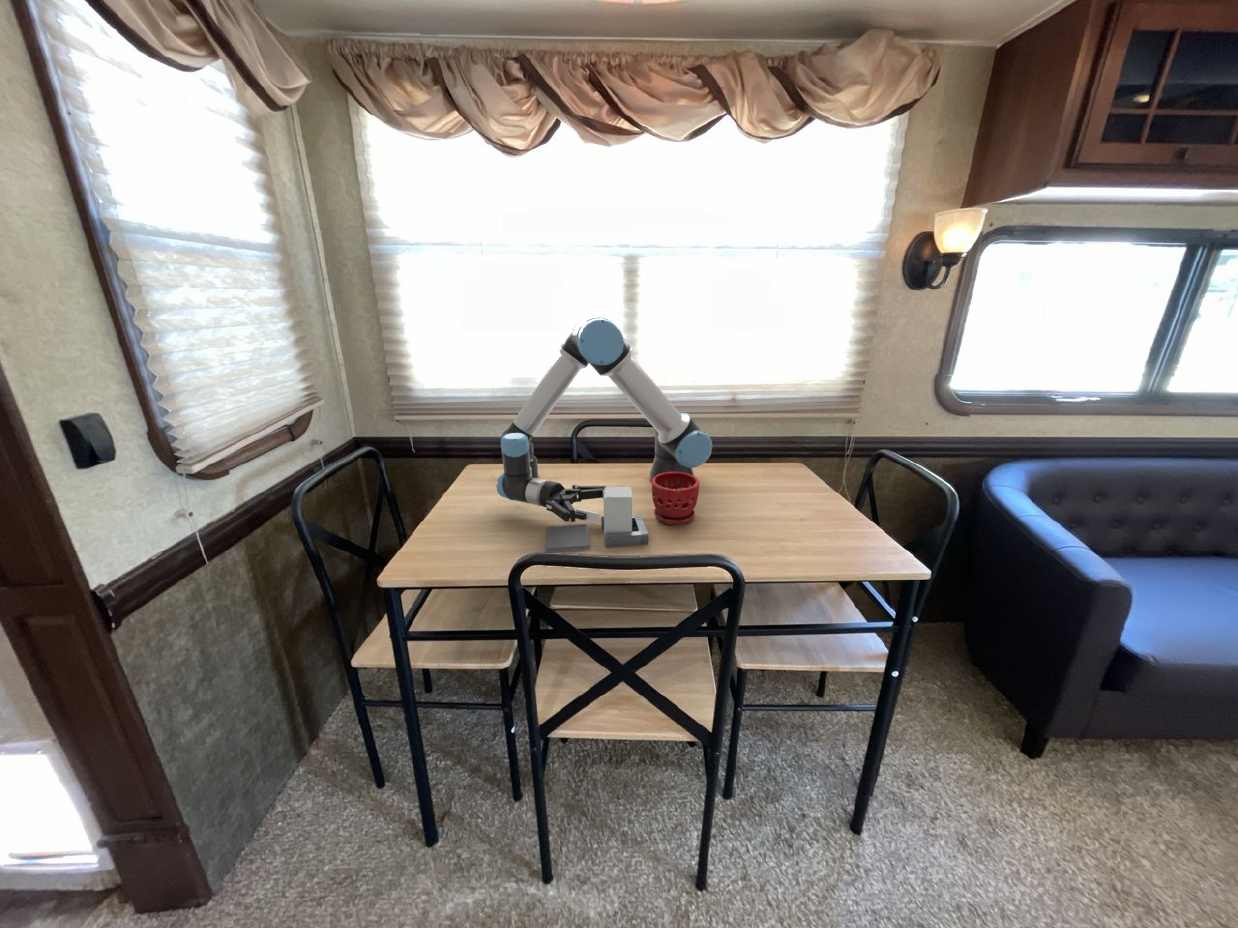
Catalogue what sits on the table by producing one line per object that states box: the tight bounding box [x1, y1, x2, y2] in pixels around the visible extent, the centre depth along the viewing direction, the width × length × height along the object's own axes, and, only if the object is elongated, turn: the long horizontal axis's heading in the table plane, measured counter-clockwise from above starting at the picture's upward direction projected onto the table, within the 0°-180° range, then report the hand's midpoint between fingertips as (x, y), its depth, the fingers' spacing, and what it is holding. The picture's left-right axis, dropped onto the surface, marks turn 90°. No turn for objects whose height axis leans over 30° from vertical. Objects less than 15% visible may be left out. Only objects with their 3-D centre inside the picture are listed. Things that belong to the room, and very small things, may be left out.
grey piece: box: [600, 513, 649, 549], centre depth 130 cm, size 11×12×3 cm
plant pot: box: [651, 472, 700, 526], centre depth 138 cm, size 13×13×12 cm
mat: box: [545, 523, 591, 553], centre depth 129 cm, size 11×12×1 cm
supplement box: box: [603, 486, 633, 542], centre depth 129 cm, size 7×7×13 cm
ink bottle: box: [529, 441, 539, 478], centre depth 171 cm, size 10×9×12 cm
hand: (612, 508), depth 128 cm, fingers open, 13 cm apart
